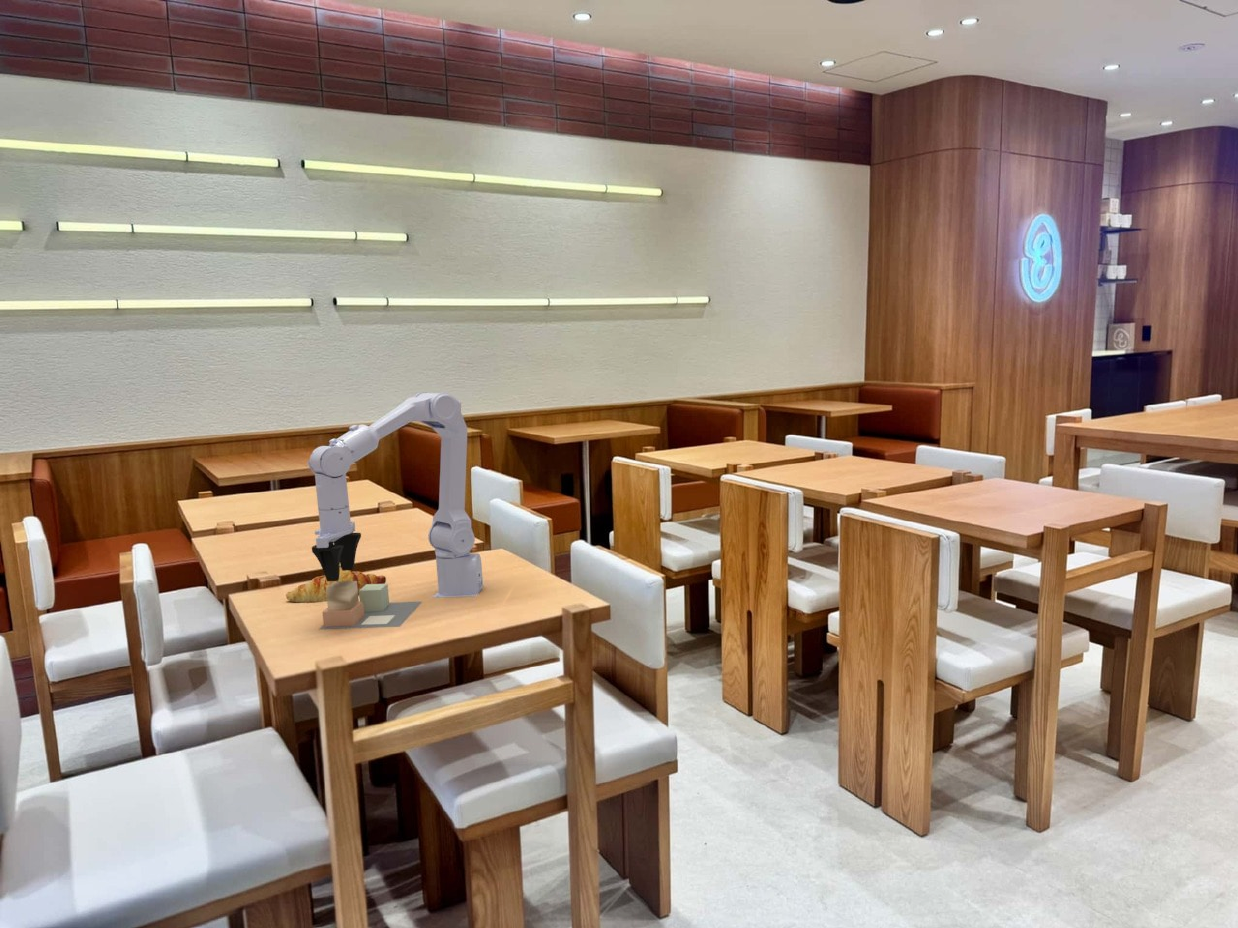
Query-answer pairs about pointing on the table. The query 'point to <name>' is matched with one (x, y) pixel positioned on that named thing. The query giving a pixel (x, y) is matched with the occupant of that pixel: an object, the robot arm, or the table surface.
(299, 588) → the croissant
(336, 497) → the robot arm
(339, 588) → the maple cube
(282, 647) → the table surface
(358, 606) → the terracotta slab
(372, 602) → the sage cube
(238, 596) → the table surface
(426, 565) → the table surface
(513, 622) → the table surface
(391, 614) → the board
